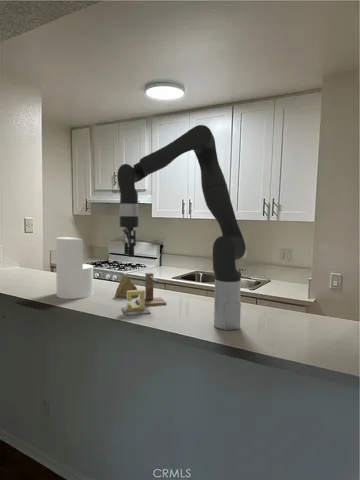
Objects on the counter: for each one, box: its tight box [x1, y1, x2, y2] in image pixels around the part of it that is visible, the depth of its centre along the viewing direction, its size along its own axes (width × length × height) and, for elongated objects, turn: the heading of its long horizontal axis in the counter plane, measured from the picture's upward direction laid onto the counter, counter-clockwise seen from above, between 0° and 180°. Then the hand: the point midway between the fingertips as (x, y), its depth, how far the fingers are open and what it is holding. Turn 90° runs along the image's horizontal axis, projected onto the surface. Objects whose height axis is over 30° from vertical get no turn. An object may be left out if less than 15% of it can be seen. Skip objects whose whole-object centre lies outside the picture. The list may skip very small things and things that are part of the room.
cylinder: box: [55, 236, 94, 300], centre depth 162 cm, size 17×17×28 cm
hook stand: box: [135, 272, 167, 307], centre depth 146 cm, size 14×12×13 cm
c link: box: [126, 289, 145, 312], centre depth 136 cm, size 3×7×8 cm, turn 109°
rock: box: [114, 275, 140, 298], centre depth 160 cm, size 11×9×10 cm
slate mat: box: [121, 306, 152, 317], centre depth 136 cm, size 10×10×1 cm
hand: (129, 255), depth 134 cm, fingers open, 8 cm apart
